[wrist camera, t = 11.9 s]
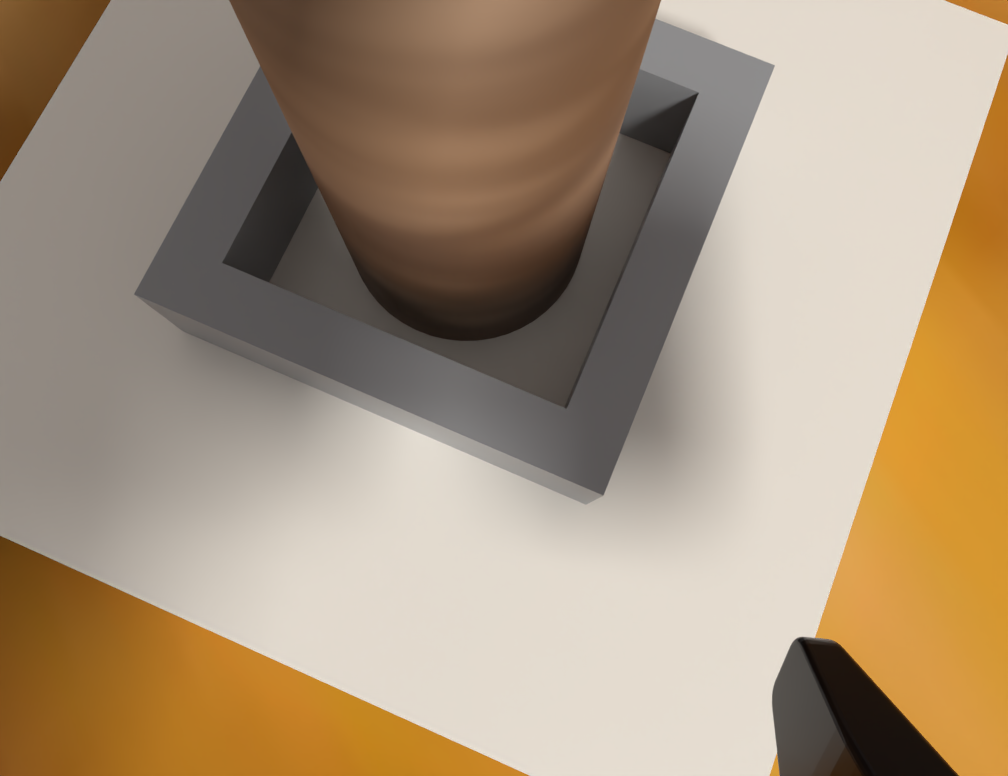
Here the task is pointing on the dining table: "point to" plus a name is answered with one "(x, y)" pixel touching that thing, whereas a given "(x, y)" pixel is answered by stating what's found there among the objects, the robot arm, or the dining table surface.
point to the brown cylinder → (456, 140)
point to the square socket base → (489, 378)
